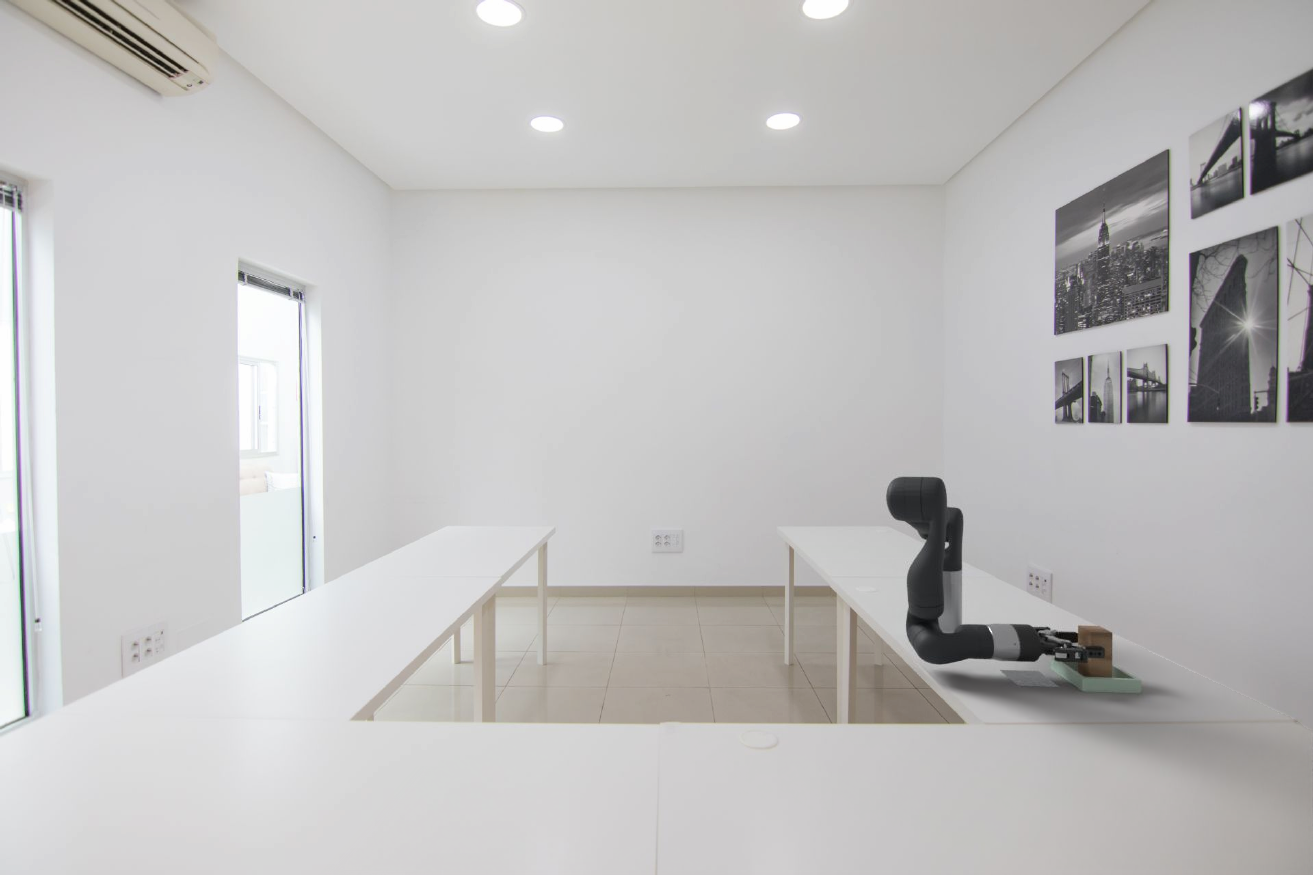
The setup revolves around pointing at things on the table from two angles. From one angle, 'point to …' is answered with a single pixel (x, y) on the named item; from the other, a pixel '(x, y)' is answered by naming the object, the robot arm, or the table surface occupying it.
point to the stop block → (1096, 638)
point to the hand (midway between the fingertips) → (1090, 644)
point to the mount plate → (1028, 678)
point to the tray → (1098, 679)
